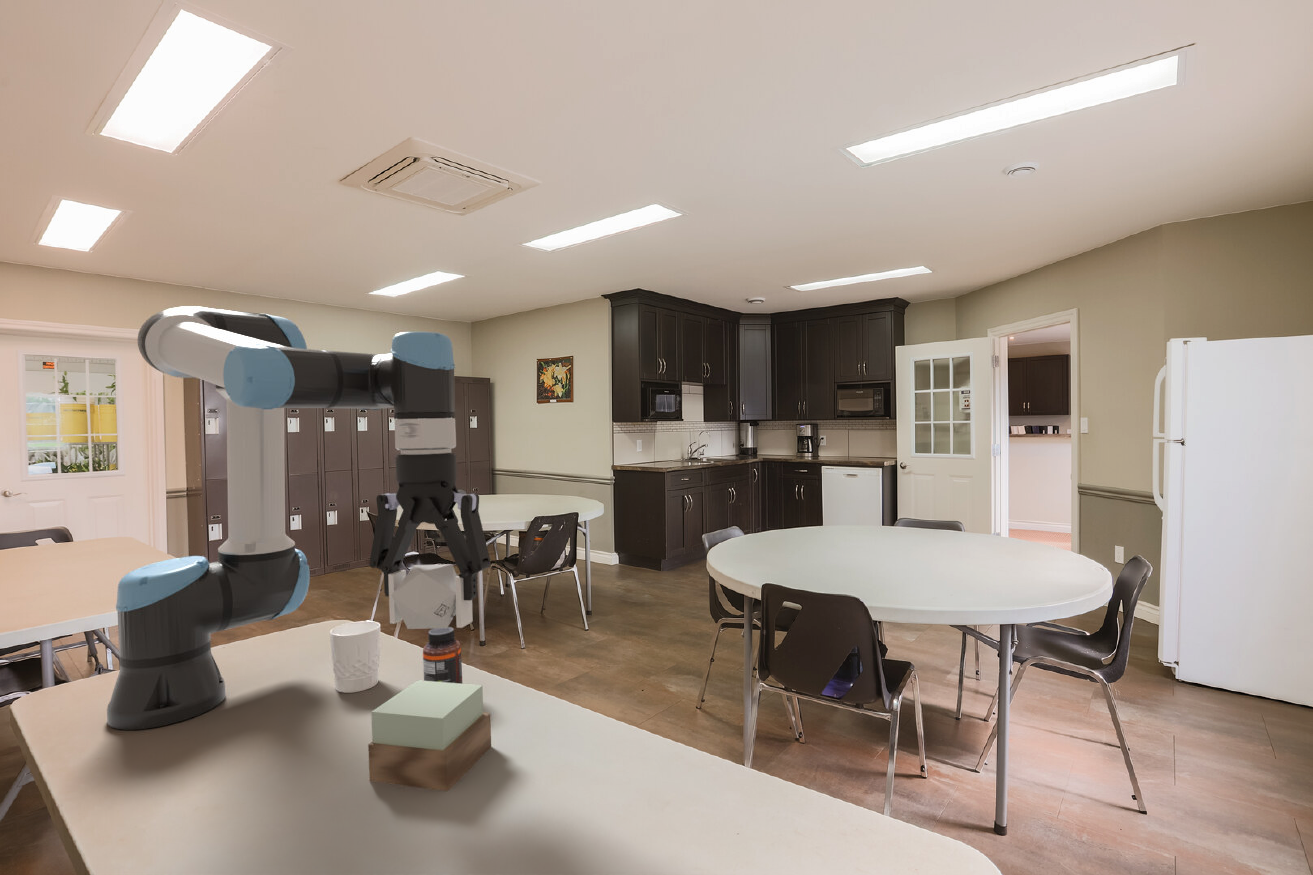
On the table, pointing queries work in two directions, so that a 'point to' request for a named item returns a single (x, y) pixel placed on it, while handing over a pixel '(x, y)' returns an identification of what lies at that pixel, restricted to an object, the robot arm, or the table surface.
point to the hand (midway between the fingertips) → (431, 622)
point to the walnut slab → (430, 759)
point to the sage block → (427, 714)
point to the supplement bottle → (442, 657)
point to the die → (427, 596)
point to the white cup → (356, 655)
